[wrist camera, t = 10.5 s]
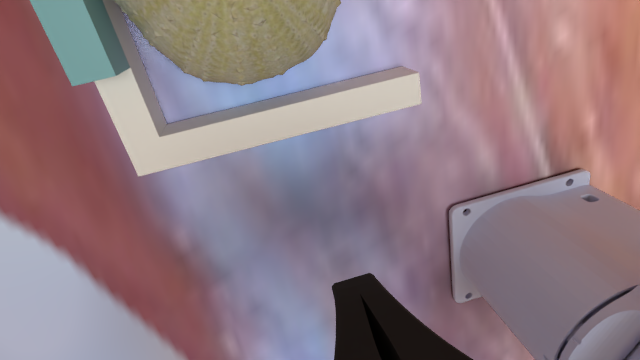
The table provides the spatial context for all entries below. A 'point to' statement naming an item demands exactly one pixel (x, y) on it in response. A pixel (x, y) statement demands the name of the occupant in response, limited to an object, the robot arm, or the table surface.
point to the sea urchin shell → (233, 34)
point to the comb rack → (211, 129)
